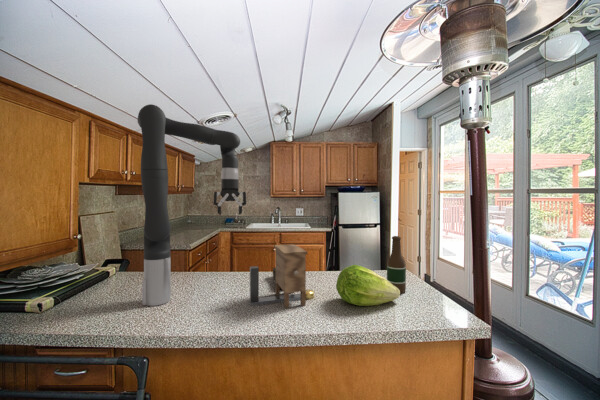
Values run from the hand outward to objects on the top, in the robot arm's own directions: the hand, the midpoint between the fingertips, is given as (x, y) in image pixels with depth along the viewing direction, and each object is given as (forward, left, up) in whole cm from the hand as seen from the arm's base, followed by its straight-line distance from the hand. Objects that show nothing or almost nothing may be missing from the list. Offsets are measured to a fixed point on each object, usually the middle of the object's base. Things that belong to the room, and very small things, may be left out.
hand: (230, 214), depth 123 cm
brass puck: (+30, -21, -33) cm, 49 cm away
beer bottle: (+69, -26, -33) cm, 81 cm away
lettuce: (+50, -34, -33) cm, 69 cm away
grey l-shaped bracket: (+17, -21, -33) cm, 43 cm away
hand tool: (+22, +1, -34) cm, 40 cm away
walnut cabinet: (+22, -21, -33) cm, 45 cm away
